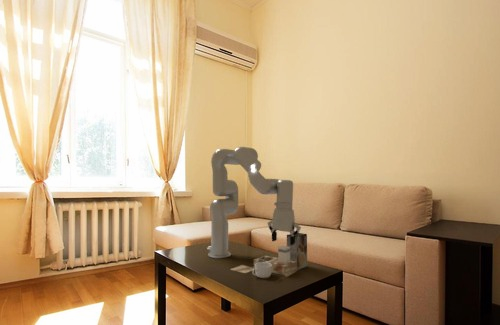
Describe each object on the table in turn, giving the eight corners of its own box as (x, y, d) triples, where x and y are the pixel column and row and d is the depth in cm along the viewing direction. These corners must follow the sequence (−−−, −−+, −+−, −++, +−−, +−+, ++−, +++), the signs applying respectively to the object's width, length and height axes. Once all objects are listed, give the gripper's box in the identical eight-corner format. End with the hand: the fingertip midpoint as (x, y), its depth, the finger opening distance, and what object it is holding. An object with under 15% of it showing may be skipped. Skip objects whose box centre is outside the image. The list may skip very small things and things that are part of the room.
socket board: (253, 269, 139) (253, 258, 139) (264, 264, 147) (264, 254, 148) (286, 277, 128) (286, 265, 129) (296, 271, 137) (297, 260, 137)
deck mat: (230, 270, 137) (230, 269, 137) (241, 266, 144) (241, 265, 144) (245, 274, 131) (245, 273, 131) (256, 269, 139) (256, 268, 139)
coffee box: (296, 263, 149) (296, 232, 150) (307, 266, 145) (307, 233, 145) (286, 267, 142) (286, 234, 143) (297, 270, 138) (297, 236, 139)
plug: (278, 269, 135) (278, 247, 135) (282, 266, 138) (282, 245, 138) (285, 270, 132) (286, 248, 133) (290, 268, 136) (290, 246, 136)
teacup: (264, 273, 134) (264, 261, 134) (275, 277, 128) (275, 265, 128) (247, 277, 128) (247, 264, 128) (258, 282, 122) (258, 269, 122)
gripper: (264, 204, 139) (263, 240, 138) (297, 208, 129) (296, 247, 128) (272, 203, 145) (271, 238, 144) (304, 207, 135) (303, 244, 134)
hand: (283, 242), depth 136 cm, fingers open, 9 cm apart
